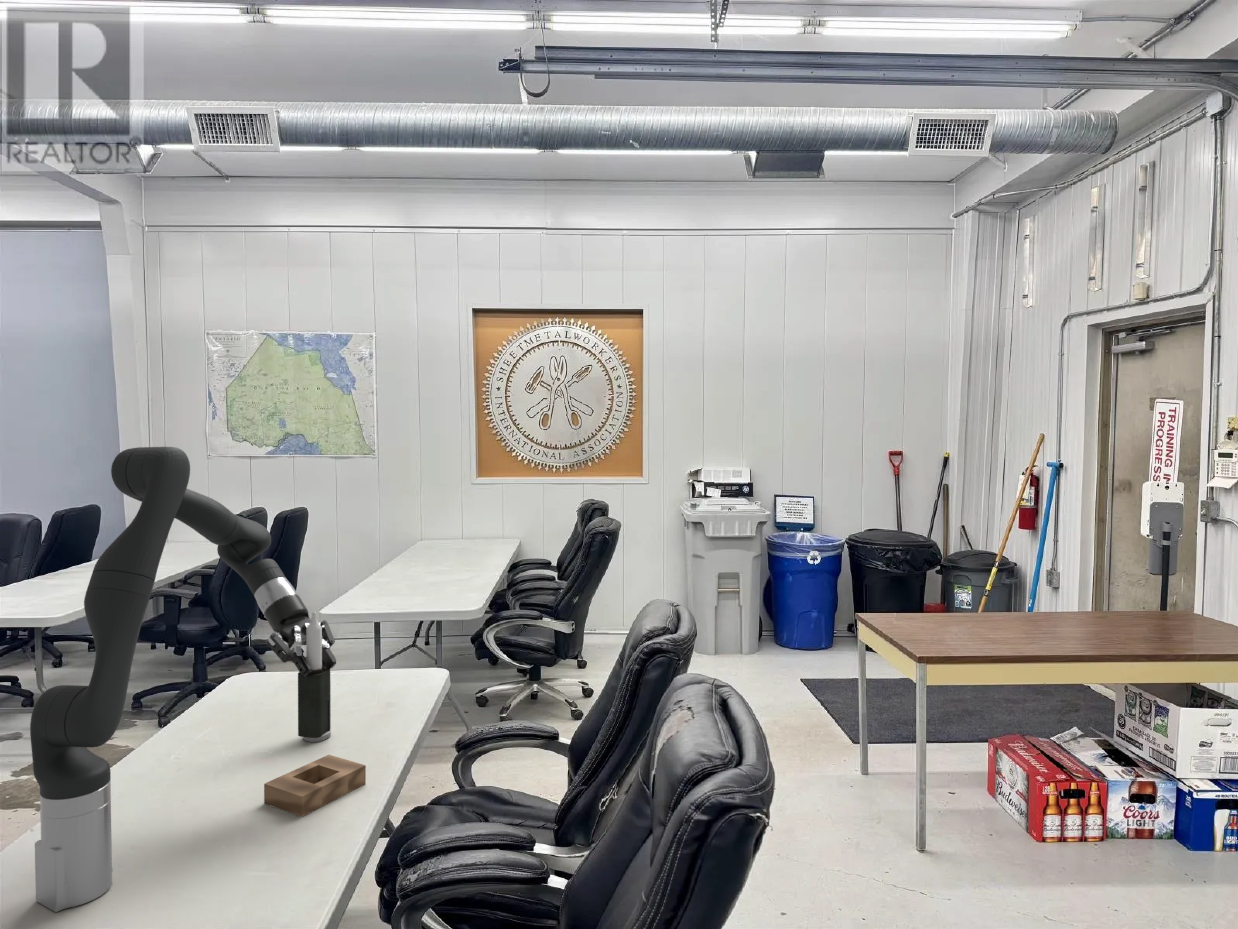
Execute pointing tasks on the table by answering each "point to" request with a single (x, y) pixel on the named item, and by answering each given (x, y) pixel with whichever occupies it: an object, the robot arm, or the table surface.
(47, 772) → the robot arm
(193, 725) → the table surface
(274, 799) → the socket block
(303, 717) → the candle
